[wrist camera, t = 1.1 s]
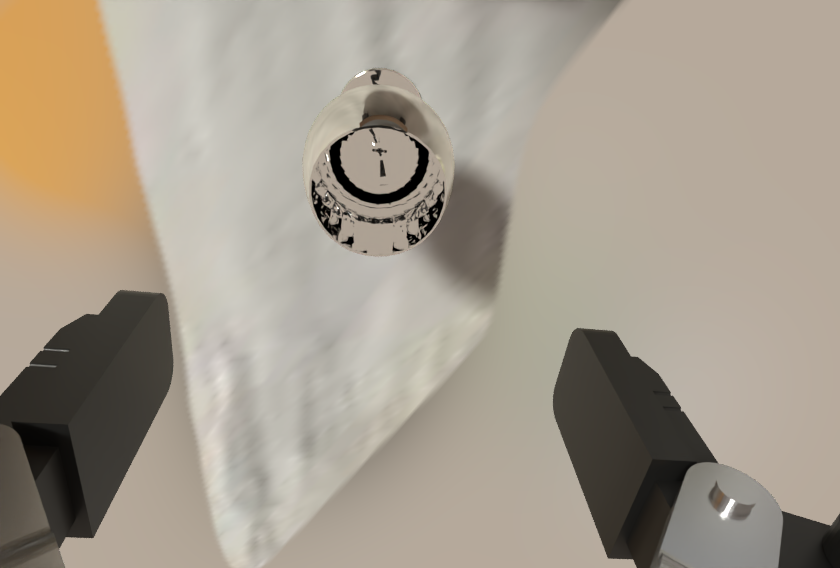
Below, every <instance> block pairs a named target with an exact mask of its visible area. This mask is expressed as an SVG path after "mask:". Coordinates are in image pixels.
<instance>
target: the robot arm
mask: <svg viewBox="0 0 840 568" xmlns="http://www.w3.org/2000/svg"><path fill="white" fill-rule="evenodd" d="M172 374H173V353H172V343H171V332H170V321H169V311H168V303H167V299H166V297H165V295H164V294H162V293H151V292H138V291H125V290H120V291H119V292H117V293H116V295H114V297H113V298H112V299H111V300H110V302H109V303H108V304H107V306H105V308H104V309H103V310H102V311H101V313H100V314H99V315H94V314H86V315H84V316H82V317H80V318H79V319H77V320H75V321H73V322H71V323H70V324H68V325H66V326H64V327H63V328H61V329H60V330H59V331H58V332H57V333H56V334H55V335H54V336H53V338H52V339H51V340H50V341H49V342H48V343H47V344H46V345H45V347H44V350H43V351H40V352H39V353H38V354H37V355H36V357H35V358H34V359H33V360H32V361H31V362H30V366H29V367H26V368H25V369H24V370H23V371H22V372H21V373H20V374H19V375H18V377H17V378H16V379H15V380H14V381H13V382H12V383H11V384H10V386H9V387H8V388H7V389H6V390H5V391H4V392H3V393H2V395H1V396H0V568H65V566H64V563H63V560H62V557H61V554H60V551H59V548H60V546H61V544H62V543H63V541H64V539H65V537H77V538H94V536H95V534H96V532H97V529H98V528H99V525H100V524H101V522H102V520H103V518H104V516H105V514H106V512H107V510H108V508H109V506H110V504H111V502H112V500H113V498H114V496H115V494H116V492H117V491H118V489H119V487H120V485H121V483H122V481H123V479H124V477H125V475H126V473H127V471H128V469H129V467H130V465H131V463H132V461H133V459H134V457H135V455H136V453H137V451H138V449H139V447H140V446H141V444H142V442H143V439H144V438H145V436H146V434H147V432H148V430H149V428H150V426H151V424H152V421H153V420H154V418H155V416H156V414H157V412H158V410H159V408H160V406H161V404H162V402H163V400H164V398H165V397H166V395H167V392H168V390H169V387H170V384H171V379H172ZM670 393H671V392H670V391H669V389H668V388H667V386H666V385H665V383H664V382H663V380H662V379H661V377H660V376H659V374H658V373H656V372H655V371H654V370H653V369H652V368H651V367H649V366H648V365H647V364H646V363H644V362H643V361H642V360H641V359H639V358H638V357H631V356H630V354H629V353H628V351H627V350H626V348H625V346H624V345H623V343H622V341H621V340H620V338H619V337H618V335H617V334H616V333H615V332H614V331H607V330H595V329H581V328H577V329H575V330H574V331H573V333H572V334H571V337H570V339H569V343H568V346H567V349H566V352H565V356H564V359H563V362H562V366H561V369H560V372H559V375H558V378H557V382H556V385H555V389H554V395H553V410H554V415H555V419H556V422H557V424H558V427H559V429H560V432H561V435H562V438H563V440H564V443H565V446H566V448H567V451H568V454H569V456H570V459H571V461H572V464H573V467H574V469H575V472H576V475H577V477H578V480H579V483H580V485H581V488H582V490H583V493H584V496H585V499H586V501H587V504H588V507H589V509H590V512H591V514H592V517H593V520H594V522H595V525H596V528H597V530H598V533H599V536H600V538H601V541H602V544H603V546H604V548H605V552H606V554H607V557H608V558H613V559H633V560H634V562H635V564H636V567H637V568H840V514H839V515H838V517H837V518H836V520H835V521H834V522H833V524H832V525H831V526H829V525H826V524H823V523H820V522H816V521H812V520H810V519H806V518H803V517H800V516H796V515H793V514H790V513H787V512H783V511H781V509H780V507H779V505H778V503H777V502H776V500H775V499H774V497H773V496H772V495H771V494H770V493H769V492H768V491H767V490H766V489H765V488H764V487H763V486H762V485H761V484H760V483H758V482H757V481H756V480H754V479H753V478H751V477H749V476H748V475H747V474H745V473H743V472H741V471H739V470H737V469H734V468H732V467H729V466H726V465H723V464H718V462H717V461H716V459H715V458H714V456H713V455H712V453H711V452H710V450H709V449H708V447H707V446H706V444H705V443H704V441H703V440H702V438H701V437H700V435H699V434H698V432H697V431H696V429H695V428H694V426H693V425H692V423H691V422H690V420H689V419H688V417H687V416H686V414H685V413H684V412H681V407H680V405H679V404H678V402H677V401H676V400H675V398H674V397H673V396H671V395H670Z"/></svg>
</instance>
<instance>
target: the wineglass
mask: <svg viewBox="0 0 840 568" xmlns="http://www.w3.org/2000/svg"><path fill="white" fill-rule="evenodd" d="M302 165H303V182H304V187H305V191H306V196H307V199H308V202H309V204H310V207H311V209H312V212H313V214H314V216H315V218H316V220H317V221H318V223H319V225H320V227H321V228H322V229H323V230H324V231H325V232H326V234H327V235H328V236H329V237H330V238H331V239H333V240H334V241H335V242H337V243H338V244H339V245H341V246H342V247H344V248H346V249H348V250H350V251H353V252H355V253H358V254H362V255H367V256H390V255H395V254H400V253H402V252H405V251H408V250H410V249H412V248H414V247H415V246H417V245H418V244H420V243H422V242H423V241H424V240H425V239H426V238H427V237H428V236H429V235H430V234H431V233H432V232H433V231H434V229H435V228H436V226H437V225H438V223H439V222H440V220H441V218H442V216H443V214H444V212H445V210H446V208H447V205H448V202H449V199H450V196H451V193H452V188H453V180H454V171H455V161H454V154H453V147H452V144H451V141H450V138H449V134H448V131H447V129H446V127H445V125H444V124H443V122H442V120H441V119H440V117H439V116H438V115H437V113H436V112H435V111H434V110H433V109H432V108H431V107H430V106H429V105H428V104H427V103H426V102H424V101H423V100H422V99H421V97H420V94H419V92H418V90H417V88H416V87H415V86H414V84H413V83H412V82H411V81H410V80H409V79H408V78H407V77H405V76H404V75H402V74H400V73H398V72H397V71H394V70H390V69H386V68H372V69H369V70H365V71H363V72H361V73H359V74H357V75H355V76H354V77H353V78H352V79H351V80H350V81H349V82H348V83H347V84H346V86H345V87H344V89H343V90H342V92H341V95H339V96H338V97H336V98H335V99H333V100H332V101H331V102H330V103H328V104H327V105H326V106H325V107H324V108H323V109H322V111H321V112H320V113H319V114H318V116H317V117H316V119H315V120H314V122H313V124H312V126H311V128H310V130H309V132H308V135H307V138H306V141H305V147H304V152H303V158H302Z"/></svg>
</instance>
